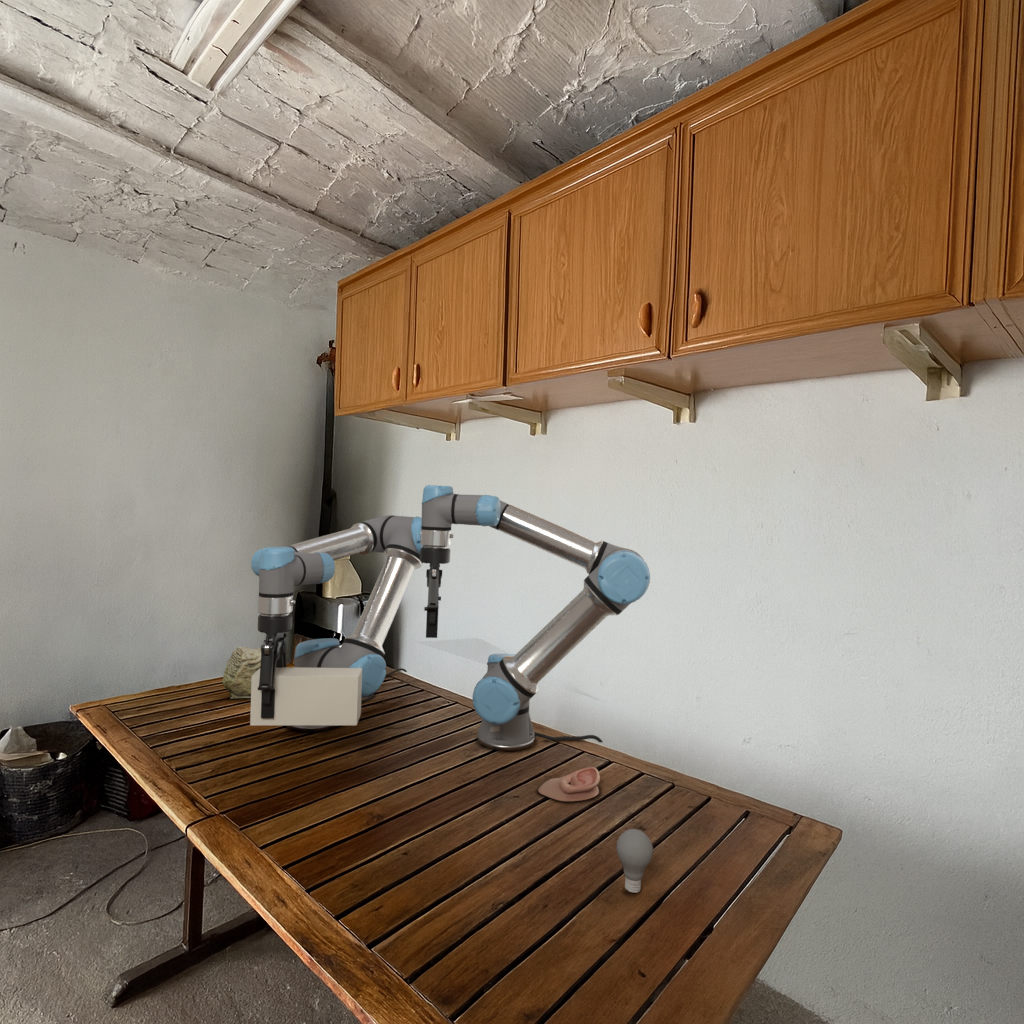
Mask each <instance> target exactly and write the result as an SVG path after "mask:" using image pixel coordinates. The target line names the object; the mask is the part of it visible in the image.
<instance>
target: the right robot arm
mask: <svg viewBox="0 0 1024 1024" xmlns="http://www.w3.org/2000/svg"><path fill="white" fill-rule="evenodd" d="M421 518H422V524H421V538H420V544H421V545H422V546H423V547H422V548H421V549H420V561H421V562H422V564H429V566H428V567H429V568H428V569H426V570H425V571H426V572H425V574H426V575H425V578H426V587H427V588H428V590H427V605H426V606H424V607H423V608H424V609H423V611H424V612H426V624H425V625H426V626H425V638H426V639H438V627H439V625H438V624H439V605H440V602H441V601H442V596H439V595H440V592H439V591H440V590H439V589H440V588H441V586H442V578H443V569H440V568H441V565H446V564H447V565H448V564H449V563H450V562H451V548H449V547H450V546H451V543H452V542H451V541H452V540H451V539H453V538H454V534H453V533H452V525H466V526H481V527H490V528H491V529H494V530H497V531H499V532H502V533H504V534H506V535H508V536H511V537H512V538H515V539H517V540H519V541H522V542H524V543H527V544H528V545H531V546H532V547H535V548H538V549H539V550H542V551H545V552H547V553H549V554H551V555H553V556H555V557H558V558H560V559H563V560H564V561H567V562H569V563H571V564H573V565H575V566H577V567H580V568H582V569H584V570H585V571H586V575H587V576H586V577H585V578H584V579H583V588H582V590H581V591H580V592H578V594H576V595H575V597H573V598H572V600H570V601H569V602H568V603H567V604H566V605H565V607H563V608H562V609H561V610H560V611H559V612H558V613H556V615H555V616H554V617H553V618H552V619H551V620H550V621H549V622H547V624H546V625H544V626H543V627H542V628H541V629H540V630H539V631H538V632H537V634H535V635H534V636H533V637H532V638H531V639H530V640H529V641H528V642H527V643H526V644H525V645H524V646H523V647H522V648H521V649H520V650H519V651H518V652H517V653H516V654H515V653H492V654H489V656H488V657H487V662H486V665H487V670H486V672H485V674H484V675H483V676H482V678H481V679H480V680H479V681H478V682H477V683H476V684H475V686H474V688H473V693H472V706H473V708H474V711H475V713H476V714H477V715H478V717H480V718H481V719H482V720H481V722H480V725H479V728H478V731H477V741H478V743H479V744H480V745H481V746H483V747H485V748H487V749H490V750H493V751H499V752H500V751H501V752H519V751H522V750H523V751H524V750H526V749H530V748H531V747H532V746H534V744H535V740H536V737H538V738H542V739H546V740H549V741H558V742H559V741H582V740H584V741H585V740H591V739H592V740H595V741H597V742H598V743H603V740H602V738H600V737H599V736H597V735H595V734H585V735H579V736H578V735H577V736H576V735H568V736H566V735H565V736H563V735H561V736H551V735H547V734H545V733H540V732H537V731H534V727H533V722H532V718H531V714H530V700H531V699H532V698H533V697H534V696H535V695H536V694H537V693H539V692H538V691H539V682H541V680H543V679H544V678H545V677H546V676H547V675H548V674H549V673H550V672H551V671H552V670H553V669H554V668H555V667H556V666H557V665H559V664H560V663H561V662H562V660H563V659H565V658H566V657H567V656H568V655H570V653H571V652H572V651H573V650H574V649H575V648H576V647H577V646H578V645H579V644H580V643H581V642H583V641H584V639H585V638H587V637H588V636H589V635H590V634H591V633H592V632H593V631H594V630H595V629H596V628H597V627H598V626H599V625H600V624H601V623H602V622H603V621H605V620H606V619H607V618H608V617H610V616H612V617H613V616H614V617H617V616H620V614H621V613H622V612H624V611H625V610H626V609H627V608H628V607H629V606H630V605H631V604H633V603H636V602H637V601H639V600H640V599H641V598H642V597H643V596H644V595H645V594H646V592H647V591H648V588H649V586H650V582H651V572H650V568H649V566H648V563H647V562H646V561H645V559H644V558H643V557H642V556H641V555H640V554H639V553H638V552H637V551H635V550H633V549H630V548H625V547H622V546H619V545H615V544H612V543H609V542H607V541H604V540H600V541H595V540H593V539H590V538H588V537H586V536H583V535H581V534H579V533H576V532H574V531H572V530H569V529H567V528H565V527H562V526H560V525H558V524H556V523H553V522H552V521H549V520H546V519H545V518H542V517H539V516H537V515H534V514H532V513H531V512H528V511H525V510H523V509H521V508H519V507H516V506H514V505H511V504H509V503H507V502H505V501H503V500H500V498H499V497H498V496H497V495H489V494H459V493H454V488H453V486H451V485H435V484H427V485H425V486H424V487H423V489H422V500H421ZM570 736H571V737H570Z"/></svg>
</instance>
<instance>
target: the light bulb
mask: <svg viewBox="0 0 1024 1024" xmlns="http://www.w3.org/2000/svg"><path fill="white" fill-rule="evenodd" d="M615 849H616V854H617V857H618V859H619V861H620V863H621V865H622V867H623V873H624V874H623V875H624V876H625V878H624V888H625V890H627V891H628V892H630V893H634V894H635V893H639V892H640V891H641V889H642V887H641V886H642V879H643V877H644V875H645V871H646V868H647V867H648V866H649V864H650V863H651V861H652V859H653V855H654V847H653V843H652V841H651V838H649V836H648V835H647V834H646V833H645V832H643V831H642V830H641V829H636V828H629V829H627V830H625V831H623V832H622V833H621V834H620V835H619V837H618V839H617V841H616V847H615Z"/></svg>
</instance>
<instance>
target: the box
mask: <svg viewBox="0 0 1024 1024" xmlns="http://www.w3.org/2000/svg"><path fill="white" fill-rule="evenodd" d="M259 680H260V669H259V670H258V671H257V672H255V673H254V674H253V675H252V680H251V698H250V715H249V716H250V717H249V726H286V725H339V726H357V725H358V723H359V721H360V717H361V715H362V702H361V700H362V698H361V694H362V668H298V667H293V666H291V667H287V666H286V667H283V668H276V672H275V680H274V689H275V703H274V718H261V696H262V690H258V687H259Z"/></svg>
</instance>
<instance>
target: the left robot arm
mask: <svg viewBox="0 0 1024 1024" xmlns="http://www.w3.org/2000/svg"><path fill="white" fill-rule="evenodd" d="M421 524H422V516H421V517H420V516H405V515H404V516H403V515H392V514H390V515H389V514H388V515H382V516H378V517H373V518H370V519H367V520H363V521H359V522H357V523H354V524H352V526H351V527H350V528H347V529H343V530H341V531H337V532H333V533H330V534H326V535H325V534H324V535H321V536H318V537H314V538H311V539H307V540H304V541H300V542H297V543H292V544H289V545H286V546H267V547H266V546H265V547H263V548H260V549H258V550H256V551H255V552H254V553H253V555H252V556H251V557H252V558H251V560H250V561H251V562H250V567H251V570H252V572H253V574H255V575H256V576H257V577H258V597H257V598H258V601H257V613H258V616H257V631H258V632H260V633H261V634H263V633H264V634H265V639H264V640H263V644H261V646H260V648H261V666H260V680H259V687H258V690H262V696H261V718H274V703H275V689H274V680H275V672H276V668H283V667H287V639H288V632H290V631H292V629H293V614H292V612H293V605H295V604H296V600H295V599H293V598H294V587H298V586H308V585H315V584H316V585H320V584H323V583H327V582H329V581H331V580H332V578H333V577H334V576H335V573H336V563H335V562H336V561H337V560H341V559H344V558H347V557H351V556H354V555H356V554H359V555H368V554H371V553H380V554H381V553H383V554H384V556H385V562H384V564H383V565H382V568H381V571H380V573H379V575H378V577H377V579H376V582H375V584H374V586H373V589H372V591H371V593H370V595H369V598H368V600H367V602H366V604H365V606H364V608H363V611H362V613H361V615H360V617H359V620H358V622H357V624H356V626H355V628H354V631H353V633H352V634H350V635H348V636H346V637H345V638H344V639H343V642H342V643H340V641H339V639H338V638H335V637H333V638H332V637H329V638H313V639H308V640H304V641H302V642H299V643H298V644H297V645H296V646H295V652H294V653H295V654H294V657H293V659H294V660H293V662H294V663H293V665H294V667H298V668H362V694H361V703H364V702H367V701H369V700H371V699H372V698H373V697H374V695H375V694H376V692H377V691H378V690H379V689H380V687H382V684H383V683H384V680H385V678H386V677H389V676H391V675H393V674H395V673H397V672H400V671H403V672H405V673H407V672H408V671H407V670H406V669H405V668H404V667H403V668H402V667H401V668H397V669H394V670H393V671H391V672H387V669H386V668H387V663H386V660H385V659H384V656H385V654H386V652H385V650H384V648H383V645H384V642H385V640H386V638H387V636H388V633H389V630H390V628H391V625H392V624H393V622H394V619H395V617H396V615H397V611H398V609H399V607H400V604H401V602H402V599H403V597H404V595H405V592H406V590H407V588H408V586H409V584H410V580H411V578H412V576H413V573H414V572H415V570H417V569H420V568H422V566H423V563H422V562H421V561H420V549H421V548H422V547H423V546H422V545H421V544H420V538H421ZM395 671H396V672H395ZM362 698H364V699H362ZM285 726H286V728H287V729H289V730H291V731H294V732H295V731H296V732H301V733H316V732H325V731H329V730H332V729H335V728H337V727H339V726H340V725H285Z"/></svg>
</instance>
